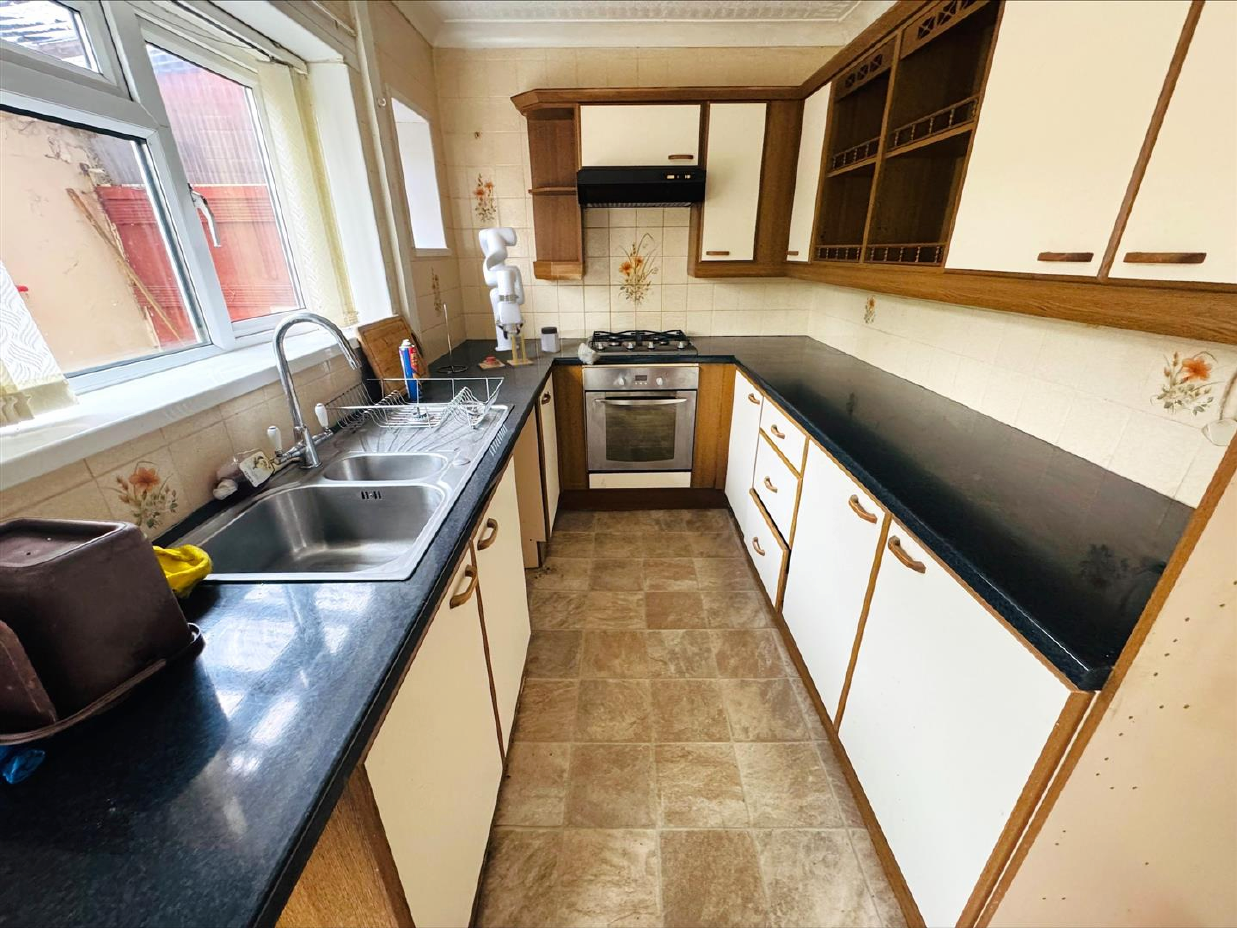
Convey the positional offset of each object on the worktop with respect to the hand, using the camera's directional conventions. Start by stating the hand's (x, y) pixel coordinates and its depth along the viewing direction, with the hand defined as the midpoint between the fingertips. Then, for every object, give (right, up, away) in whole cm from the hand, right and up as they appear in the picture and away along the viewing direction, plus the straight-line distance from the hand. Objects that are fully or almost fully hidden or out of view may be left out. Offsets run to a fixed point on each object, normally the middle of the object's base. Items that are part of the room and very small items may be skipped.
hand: (512, 338), depth 241 cm
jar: (+16, -2, +22) cm, 27 cm away
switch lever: (+2, -1, -4) cm, 5 cm away
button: (-8, -13, -9) cm, 18 cm away
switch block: (-8, -15, -8) cm, 19 cm away
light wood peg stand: (+4, -13, -4) cm, 14 cm away
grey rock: (+39, -14, -9) cm, 42 cm away
